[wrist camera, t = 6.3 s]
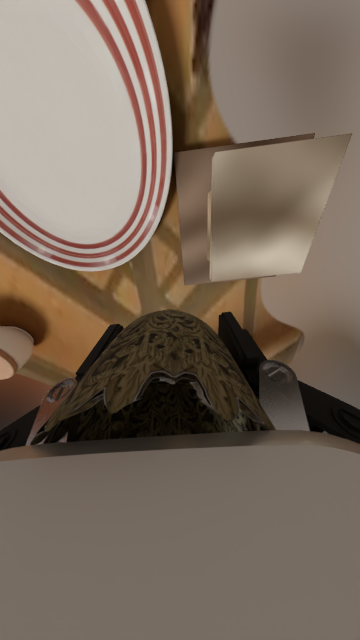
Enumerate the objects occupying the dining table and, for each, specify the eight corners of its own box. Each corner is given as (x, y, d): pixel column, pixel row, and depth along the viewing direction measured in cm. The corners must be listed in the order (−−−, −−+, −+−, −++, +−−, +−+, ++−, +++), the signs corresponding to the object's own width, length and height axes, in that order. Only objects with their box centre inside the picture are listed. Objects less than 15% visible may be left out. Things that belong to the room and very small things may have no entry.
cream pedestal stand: (270, 274, 25) (316, 294, 17) (184, 282, 26) (187, 306, 18) (304, 140, 17) (432, 49, 8) (174, 158, 17) (171, 89, 9)
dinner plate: (101, 297, 28) (92, 304, 25) (-107, 135, 16) (-166, 115, 13) (216, 168, 18) (223, 157, 15) (-88, -434, 7) (-274, -900, 4)
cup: (127, 353, 13) (73, 488, 6) (119, 273, 9) (-64, 406, 2) (205, 359, 13) (233, 488, 7) (231, 287, 9) (360, 425, 3)
